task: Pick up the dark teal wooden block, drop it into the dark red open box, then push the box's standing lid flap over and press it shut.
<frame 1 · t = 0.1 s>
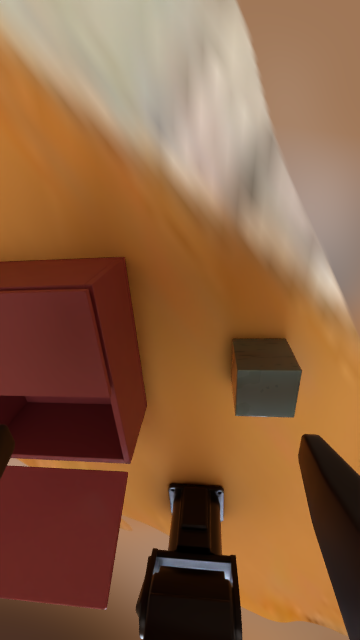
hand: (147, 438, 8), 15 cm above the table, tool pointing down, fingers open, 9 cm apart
block: (257, 360, 24), on the table
dark red open box: (68, 341, 25), on the table
flap: (31, 525, 19), point 10 cm above the table, hinge at 115.0°
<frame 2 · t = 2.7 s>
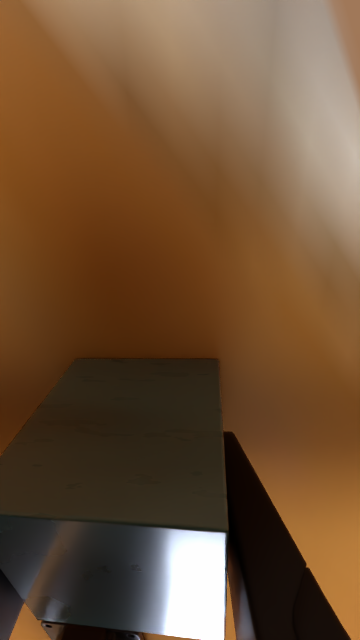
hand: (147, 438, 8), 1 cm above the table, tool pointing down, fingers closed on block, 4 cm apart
block: (152, 412, 9), on the table, touching gripper
when the fingers open (8 cm above the table, at t = 6.7 s): block drops 5 cm and tips over, resting on dark red open box.
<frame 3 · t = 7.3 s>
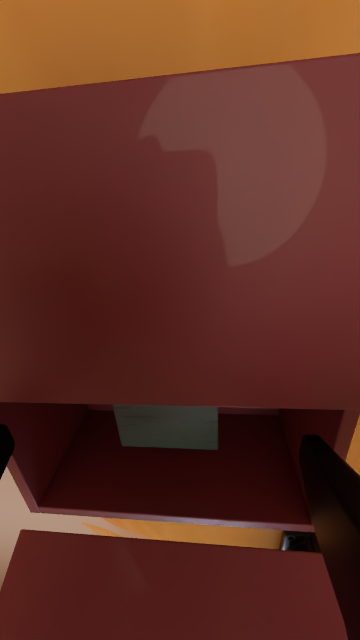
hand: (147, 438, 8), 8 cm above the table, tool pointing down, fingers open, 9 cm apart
block: (167, 338, 12), point 3 cm above the table, tilted 90°, touching dark red open box
dark red open box: (173, 307, 14), on the table
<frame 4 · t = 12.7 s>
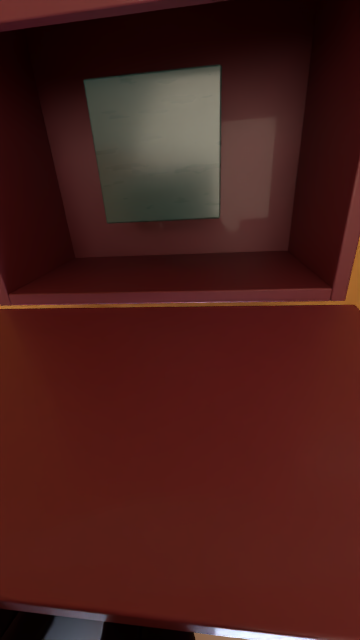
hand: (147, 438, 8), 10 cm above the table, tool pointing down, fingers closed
block: (161, 92, 10), point 3 cm above the table, tilted 90°, touching dark red open box
dark red open box: (168, 100, 13), on the table
flap: (131, 387, 6), point 11 cm above the table, hinge at 94.6°, touching gripper
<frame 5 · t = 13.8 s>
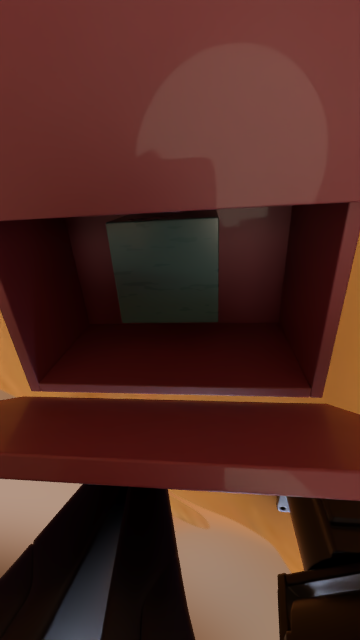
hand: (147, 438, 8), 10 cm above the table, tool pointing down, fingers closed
block: (168, 214, 12), point 3 cm above the table, tilted 90°, touching dark red open box
dark red open box: (173, 202, 14), on the table
flap: (145, 422, 8), point 10 cm above the table, hinge at 53.9°
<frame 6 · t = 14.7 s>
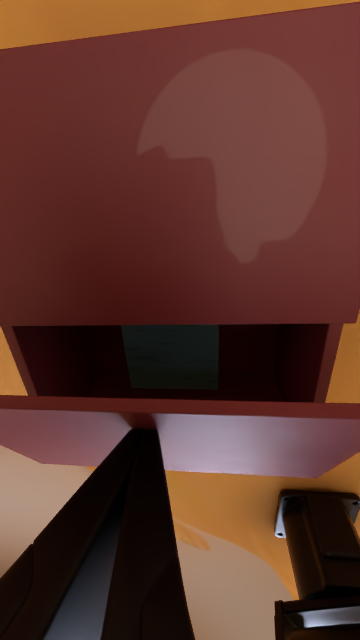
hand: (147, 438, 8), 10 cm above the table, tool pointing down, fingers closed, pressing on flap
block: (173, 290, 14), point 3 cm above the table, tilted 90°, touching dark red open box
dark red open box: (177, 268, 16), on the table
flap: (159, 444, 10), point 9 cm above the table, hinge at 24.5°, touching gripper
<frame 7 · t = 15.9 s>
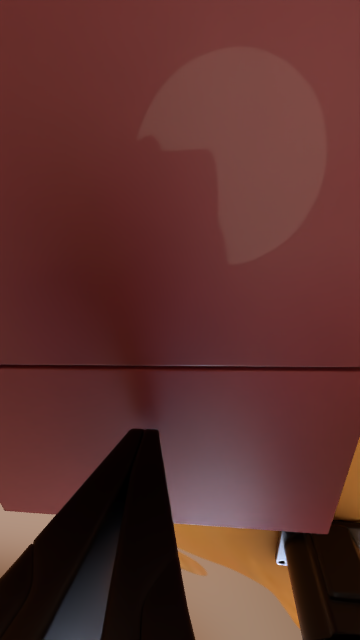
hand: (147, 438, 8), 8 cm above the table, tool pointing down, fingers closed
dark red open box: (166, 282, 14), on the table
flap: (145, 454, 9), point 7 cm above the table, hinge at -0.3°
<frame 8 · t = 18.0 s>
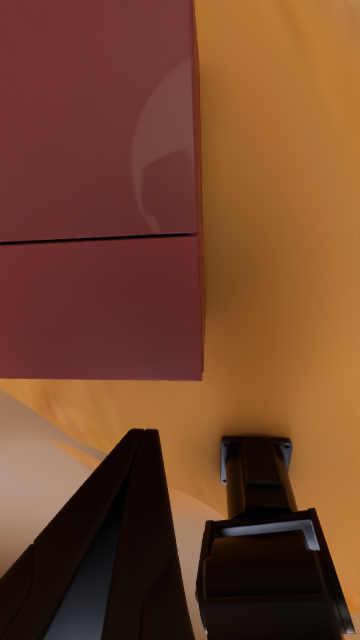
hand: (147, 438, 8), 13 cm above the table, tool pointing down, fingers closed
dark red open box: (105, 221, 18), on the table
flap: (70, 318, 13), point 7 cm above the table, hinge at -0.3°
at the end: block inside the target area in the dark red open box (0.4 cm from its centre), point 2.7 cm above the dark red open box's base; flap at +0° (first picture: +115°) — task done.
